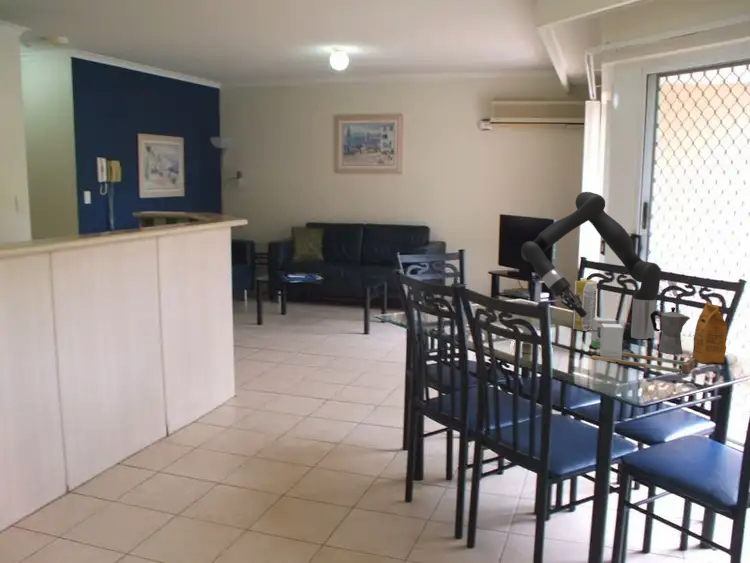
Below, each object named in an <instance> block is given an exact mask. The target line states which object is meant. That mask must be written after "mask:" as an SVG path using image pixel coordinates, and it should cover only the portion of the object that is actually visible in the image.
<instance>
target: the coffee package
mask: <svg viewBox="0 0 750 563" xmlns="http://www.w3.org/2000/svg"><path fill="white" fill-rule="evenodd" d="M720 311H723V308H722V307H721V306H719V305H714V304H712V303H711V302H710V301H706V302H705V305H704V307H703V309H702V311H701V312H700V314H699V316H698V319H697V322H696V326H695V331H694V335H693V348H692V349H693V350H692V357H693V358H696V361H697V362H699V363H701V364H720V363H724V362H725V356H726V351H727V345H726V344H727V330H728V326H727V323H726V321H725V319H724V317H723V316H722V314H721V312H720ZM696 361H695V362H696Z"/></svg>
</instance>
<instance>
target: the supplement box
mask: <svg viewBox="0 0 750 563" xmlns="http://www.w3.org/2000/svg"><path fill="white" fill-rule="evenodd" d="M623 337H624V327H623V326H622V325H621V323H616V324H601V336H600V348H599V355H600V356H601V357H607V358H613V359H620V360H622V358H623V356H622V352H623V341H624V340H623Z"/></svg>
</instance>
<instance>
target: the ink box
mask: <svg viewBox="0 0 750 563" xmlns="http://www.w3.org/2000/svg"><path fill="white" fill-rule="evenodd" d="M601 324H617V320H616V319H615V318H613V317H597V316H595V317H594V318H593V322H592V330H591V338H590V339H591V341H590V346H591V347H592V348H595V349H600V336H601Z"/></svg>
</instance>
